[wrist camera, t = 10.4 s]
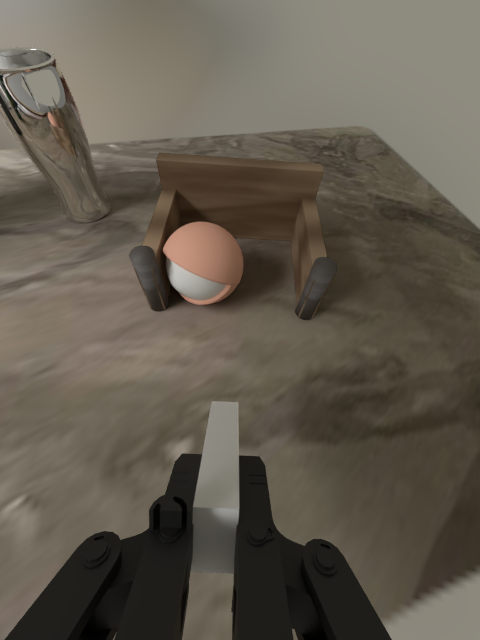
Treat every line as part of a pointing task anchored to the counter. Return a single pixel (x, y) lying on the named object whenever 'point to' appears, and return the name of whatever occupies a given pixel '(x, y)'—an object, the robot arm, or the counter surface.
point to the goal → (239, 217)
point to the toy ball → (203, 262)
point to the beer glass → (50, 130)
